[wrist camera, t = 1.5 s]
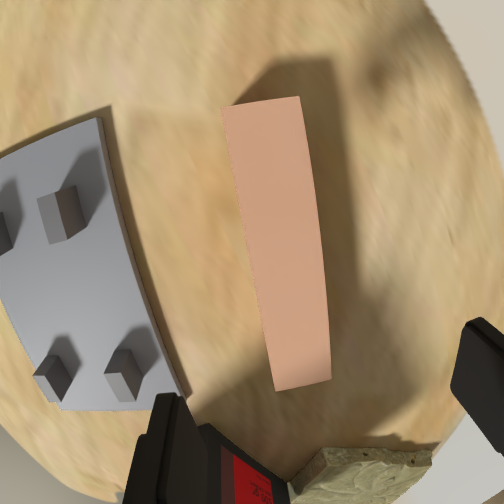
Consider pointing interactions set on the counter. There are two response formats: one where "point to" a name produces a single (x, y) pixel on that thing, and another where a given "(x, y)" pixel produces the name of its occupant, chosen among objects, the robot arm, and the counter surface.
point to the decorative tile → (358, 476)
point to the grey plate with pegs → (77, 277)
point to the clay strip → (282, 236)
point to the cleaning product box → (238, 474)
